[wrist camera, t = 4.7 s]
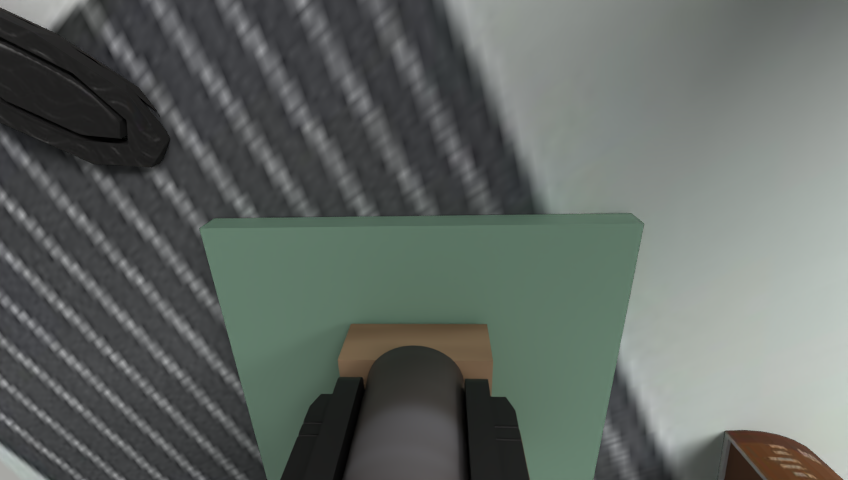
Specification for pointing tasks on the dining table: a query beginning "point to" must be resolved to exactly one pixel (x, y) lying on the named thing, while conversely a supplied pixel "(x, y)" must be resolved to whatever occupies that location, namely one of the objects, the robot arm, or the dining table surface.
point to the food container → (769, 458)
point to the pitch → (432, 312)
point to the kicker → (413, 398)
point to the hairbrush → (73, 99)
